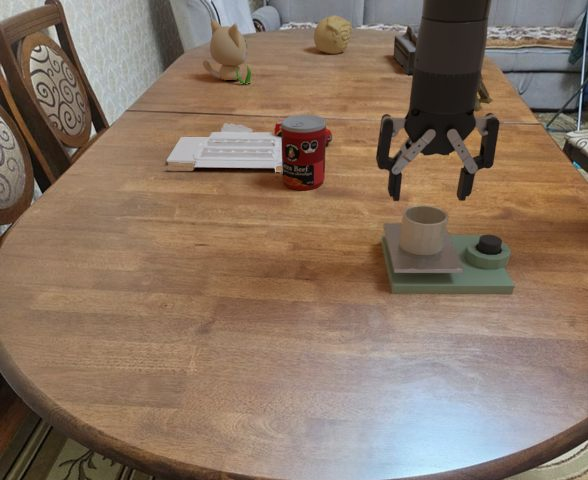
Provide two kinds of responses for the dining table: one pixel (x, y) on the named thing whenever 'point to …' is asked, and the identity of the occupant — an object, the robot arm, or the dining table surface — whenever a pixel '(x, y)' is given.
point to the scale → (474, 280)
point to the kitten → (227, 52)
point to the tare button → (489, 244)
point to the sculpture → (332, 34)
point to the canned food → (303, 151)
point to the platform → (420, 263)
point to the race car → (278, 132)
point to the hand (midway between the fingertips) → (428, 198)
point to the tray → (230, 149)
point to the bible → (406, 48)
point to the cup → (423, 229)
